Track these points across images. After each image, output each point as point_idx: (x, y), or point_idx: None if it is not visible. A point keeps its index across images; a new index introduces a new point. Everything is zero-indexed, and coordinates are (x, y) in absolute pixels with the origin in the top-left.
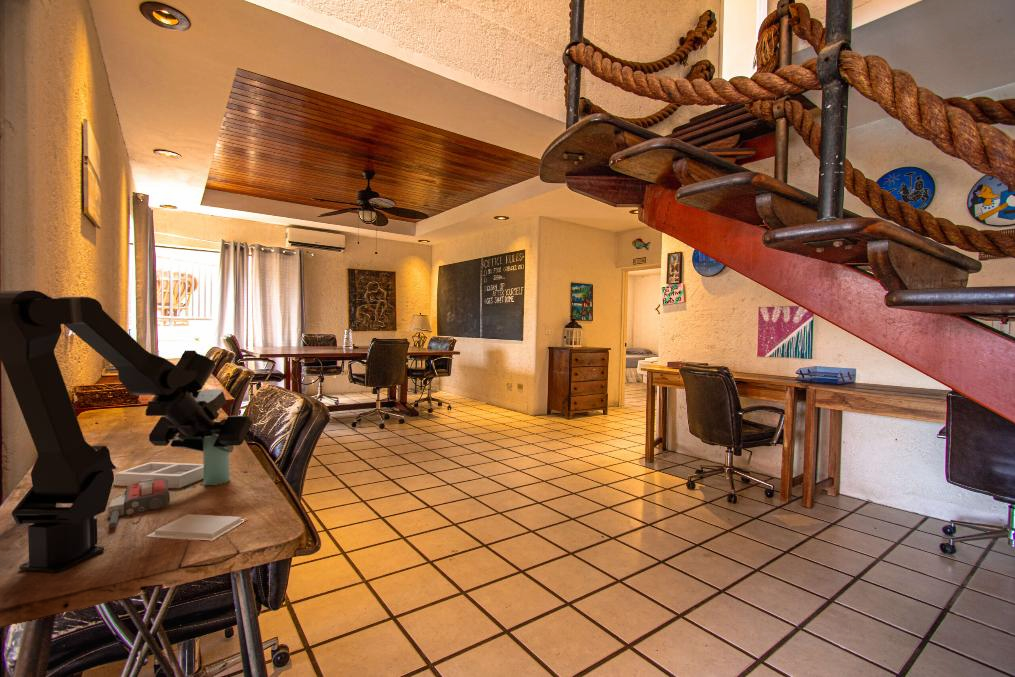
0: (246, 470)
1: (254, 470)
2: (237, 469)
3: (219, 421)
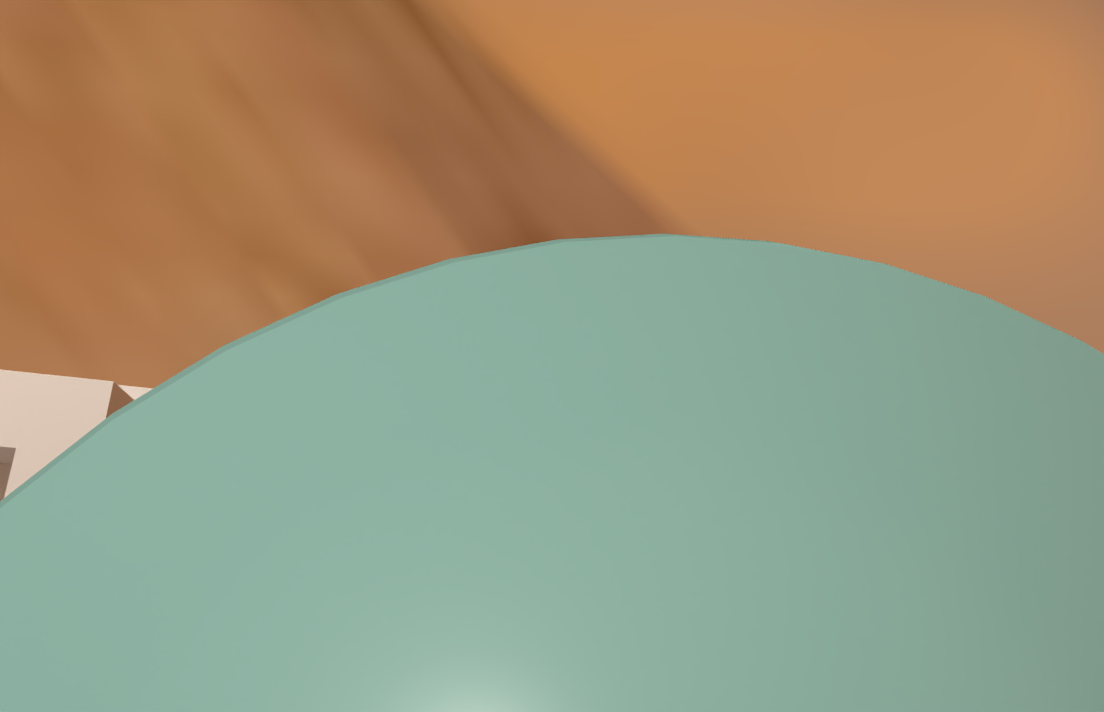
0: (533, 227)
1: (638, 230)
2: (381, 184)
3: (523, 400)
